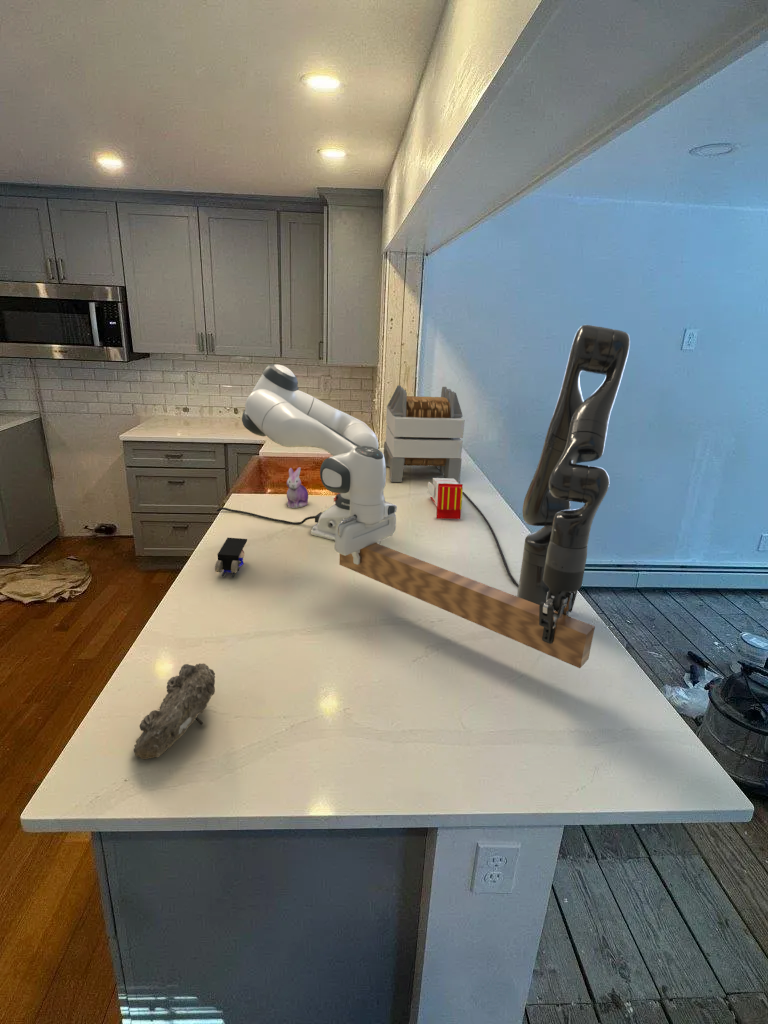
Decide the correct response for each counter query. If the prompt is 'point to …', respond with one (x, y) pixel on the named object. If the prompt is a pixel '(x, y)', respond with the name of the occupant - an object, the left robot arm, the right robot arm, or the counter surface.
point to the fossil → (176, 710)
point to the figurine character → (230, 556)
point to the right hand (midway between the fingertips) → (552, 636)
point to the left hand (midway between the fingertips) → (365, 559)
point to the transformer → (424, 433)
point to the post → (474, 602)
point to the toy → (446, 497)
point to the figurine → (296, 490)
